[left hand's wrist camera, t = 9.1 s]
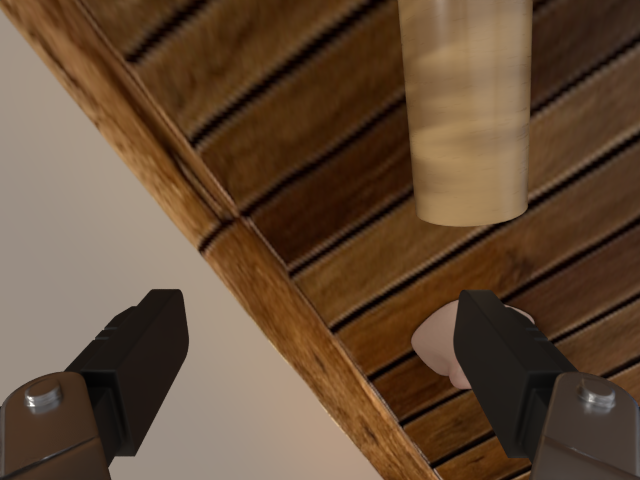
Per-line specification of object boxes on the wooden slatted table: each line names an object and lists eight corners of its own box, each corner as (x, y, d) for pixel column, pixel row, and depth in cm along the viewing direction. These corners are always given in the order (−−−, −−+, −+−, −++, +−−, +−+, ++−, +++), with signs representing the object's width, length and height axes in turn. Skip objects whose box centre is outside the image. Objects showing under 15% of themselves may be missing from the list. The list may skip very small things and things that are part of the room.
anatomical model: (405, 379, 42) (461, 295, 38) (398, 356, 46) (449, 278, 42) (505, 419, 44) (568, 342, 40) (491, 394, 48) (547, 322, 44)
